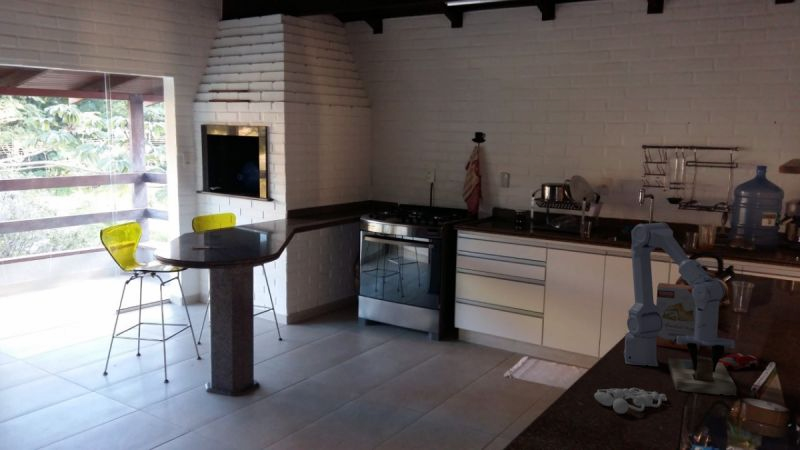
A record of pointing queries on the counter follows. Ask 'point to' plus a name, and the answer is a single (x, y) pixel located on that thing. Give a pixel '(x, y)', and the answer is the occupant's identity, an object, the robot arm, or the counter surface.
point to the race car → (739, 361)
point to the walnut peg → (704, 369)
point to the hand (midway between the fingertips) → (703, 370)
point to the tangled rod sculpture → (621, 404)
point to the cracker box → (675, 314)
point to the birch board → (685, 381)
